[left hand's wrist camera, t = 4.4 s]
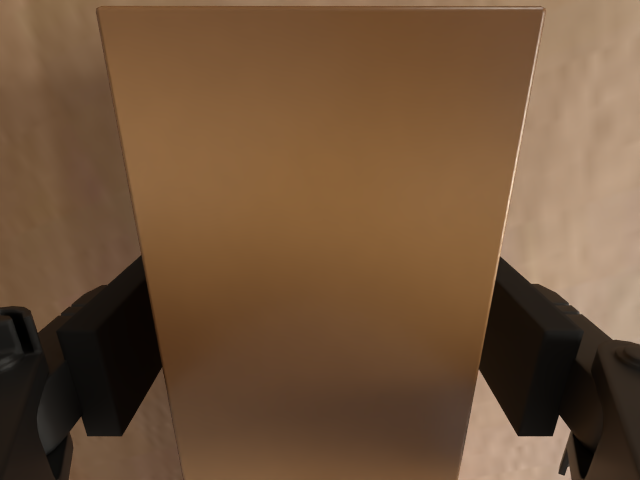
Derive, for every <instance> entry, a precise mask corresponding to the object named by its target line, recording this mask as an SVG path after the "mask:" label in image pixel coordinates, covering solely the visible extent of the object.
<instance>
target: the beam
mask: <svg viewBox="0 0 640 480" xmlns="http://www.w3.org/2000/svg"><path fill="white" fill-rule="evenodd" d="M96 14H97V20H98V25H99V30H100V36H101V41H102V46H103V52H104V57H105V62H106V68H107V73H108V78H109V84H110V89H111V95H112V100H113V105H114V111H115V116H116V121H117V127H118V132H119V137H120V143H121V148H122V153H123V159H124V164H125V169H126V175H127V180H128V185H129V191H130V196H131V202H132V207H133V212H134V218H135V223H136V228H137V234H138V239H139V244H140V250H141V255H142V260H143V266H144V271H145V276H146V282H147V287H148V293H149V298H150V303H151V309H152V314H153V319H154V325H155V330H156V335H157V341H158V346H159V351H160V357H161V362H162V367H163V373H164V378H165V383H166V389H167V394H168V400H169V405H170V410H171V416H172V421H173V426H174V432H175V437H176V442H177V448H178V453H179V458H180V464H181V469H182V474H183V480H458V476H459V471H460V465H461V460H462V455H463V450H464V444H465V439H466V434H467V428H468V423H469V418H470V412H471V407H472V402H473V396H474V391H475V386H476V381H477V375H478V370H479V365H480V359H481V354H482V349H483V343H484V338H485V333H486V327H487V322H488V317H489V311H490V306H491V301H492V296H493V290H494V285H495V280H496V274H497V269H498V264H499V258H500V253H501V248H502V242H503V237H504V232H505V226H506V221H507V216H508V211H509V205H510V200H511V195H512V189H513V184H514V179H515V173H516V168H517V163H518V157H519V152H520V147H521V141H522V136H523V131H524V126H525V120H526V115H527V110H528V104H529V99H530V94H531V88H532V83H533V78H534V72H535V67H536V62H537V56H538V51H539V46H540V41H541V35H542V30H543V25H544V19H545V14H546V10H545V8H543V7H541V6H101V7H99V8H97V9H96Z"/></svg>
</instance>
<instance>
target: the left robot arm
mask: <svg viewBox="0 0 640 480" xmlns="http://www.w3.org/2000/svg"><path fill="white" fill-rule="evenodd" d="M161 368H162V362H161V357H160V351H159V346H158V341H157V335H156V330H155V325H154V319H153V314H152V309H151V303H150V298H149V293H148V287H147V282H146V276H145V271H144V266H143V260H142V255H141V256H140V257H139V258H138V259H136V260H135V261H134V262H133V263H132V264H131V265H130V266H129V267H127V268H126V269H125V270H124V271H123V272H122V273H121V274H120V275H118V276H117V277H116V278H115V279H114V280H113V281H112V282H111V283H109V284H108V285H101V286H99V287H97V288H95V289H93V290H91V291H89V292H87V293H85V294H84V295H83V296H81V297H80V298H79V299H78V300H77V301H75V302H74V303H73V304H72V306H71V307H68V308H67V309H66V310H65V311H64V312H62V313H61V316H58V317H56V318H55V319H54V320H53V321H52V322H50V323H49V324H48V325H47V326H46V327H44V328H43V329H42V330H41V331H40V332H38V333H37V329H36V326H35V323H34V320H33V317H32V314H31V311H30V310H28V309H27V308H25V307H16V306H10V307H1V308H0V480H69V473H70V467H71V460H72V453H73V443H72V438H71V435H70V430H71V429H72V428H73V426H74V425H75V424H76V422H77V421H78V420H79V418H80V417H82V420H83V423H84V427H85V430H86V433H87V436H122V435H123V433H124V432H125V430H126V428H127V427H128V425H129V423H130V421H131V420H132V418H133V416H134V415H135V413H136V411H137V409H138V408H139V406H140V404H141V403H142V401H143V399H144V397H145V396H146V394H147V392H148V391H149V389H150V387H151V385H152V384H153V382H154V380H155V378H156V377H157V375H158V373H159V372H160V370H161ZM479 370H480V372H481V373H482V375H483V377H484V378H485V380H486V382H487V384H488V385H489V387H490V389H491V390H492V392H493V394H494V396H495V397H496V399H497V401H498V403H499V404H500V406H501V408H502V409H503V411H504V413H505V415H506V416H507V418H508V420H509V421H510V423H511V425H512V427H513V428H514V430H515V432H516V433H517V435H518V436H553V433H554V430H555V427H556V423H557V420H558V417H559V415H560V416H561V418H562V419H563V420H564V422H565V423H566V424H567V426H568V427H569V428H570V430H571V432H570V435H569V438H568V441H567V445H566V448H565V451H564V454H563V457H562V460H561V463H560V467H559V473H558V474H561V475H564V476H565V473H566V470H567V467H569V466H570V472H571V479H572V480H640V345H639V344H636V343H632V342H628V341H620V340H612V339H611V338H610V337H609V336H607V335H606V334H605V333H604V332H603V331H601V330H600V329H599V328H598V327H597V326H595V325H594V324H593V323H592V322H591V321H589V320H588V319H587V318H586V317H585V316H583V315H582V314H579V311H577V310H576V309H575V308H574V307H573V306H571V305H569V303H568V302H567V301H565V300H564V299H563V298H562V297H561V296H559V295H558V294H557V293H556V292H554V291H552V290H549V289H547V288H545V287H543V286H541V285H539V284H531V283H529V282H528V281H527V280H526V279H525V278H524V277H523V276H522V275H520V274H519V273H518V272H517V271H516V270H515V269H514V268H513V267H511V266H510V265H509V264H508V263H507V262H506V261H505V260H504V259H502V258H501V257H500V258H499V264H498V269H497V274H496V280H495V285H494V290H493V296H492V301H491V306H490V311H489V317H488V322H487V327H486V333H485V338H484V343H483V349H482V354H481V359H480V365H479Z"/></svg>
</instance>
